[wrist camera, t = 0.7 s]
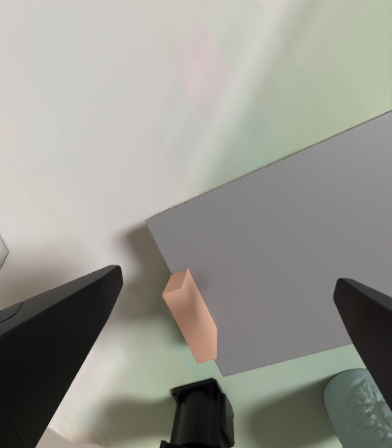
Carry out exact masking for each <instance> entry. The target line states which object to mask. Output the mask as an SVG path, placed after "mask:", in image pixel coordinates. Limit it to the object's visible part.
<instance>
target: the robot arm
mask: <svg viewBox="0 0 392 448" xmlns="http://www.w3.org/2000/svg"><path fill="white" fill-rule="evenodd" d="M122 286H123V278H122V271H121V267H120V266H119V265H109V266H107V267H104V268H102V269H100V270H97V271H95V272H92V273H90V274H88V275H85V276H83V277H80V278H78V279H75V280H73V281H71V282H68V283H66V284H63V285H61V286H59V287H56V288H54V289H51V290H49V291H47V292H44V293H42V294H39V295H37V296H35V297H32V298H30V299H27V300H25V301H24V302H20V303H18V304H15V305H13V306H10V307H8V308H5V309H3V310H0V448H35V447H36V445H37V444H38V442H39V440H40V438H41V437H42V435H43V433H44V431H45V430H46V428H47V426H48V424H49V422H50V421H51V419H52V417H53V415H54V414H55V412H56V410H57V408H58V407H59V405H60V403H61V401H62V400H63V398H64V396H65V394H66V392H67V391H68V389H69V387H70V385H71V384H72V382H73V380H74V378H75V377H76V375H77V373H78V371H79V369H80V368H81V366H82V364H83V362H84V361H85V359H86V357H87V355H88V354H89V352H90V350H91V348H92V347H93V345H94V343H95V341H96V339H97V338H98V336H99V334H100V332H101V331H102V329H103V327H104V325H105V324H106V322H107V320H108V318H109V316H110V314H111V312H112V309H113V307H114V305H115V302H116V300H117V298H118V296H119V293H120V291H121V289H122ZM333 300H334V303H335V305H336V308H337V310H338V312H339V314H340V317H341V319H342V321H343V324H344V326H345V328H346V330H347V333H348V335H349V337H350V339H351V341H352V343H353V344H354V346H355V348H356V350H357V352H358V353H359V355H360V357H361V359H362V360H363V362H364V364H365V366H366V368H367V369H368V371H369V373H370V375H371V376H372V378H373V380H374V382H375V384H376V385H377V387H378V389H379V391H380V392H381V394H382V396H383V398H384V400H385V401H386V403H387V405H388V407H389V408H390V410H391V412H392V297H390V296H388V295H386V294H384V293H381V292H379V291H377V290H375V289H373V288H371V287H368V286H366V285H364V284H362V283H360V282H357V281H355V280H353V279H351V278H339V279H338V280H337V282H336V286H335V290H334V293H333ZM213 383H214V384H213ZM172 396H173V397H174V399H175V401H176V403H177V406H176V412H175V417H174V423H173V428H172V434H171V439H170V443H168V442H166V441H163V440H162V441H161V444H160V448H231V447H234V444H235V443H234V425H233V418H234V413H233V408H232V406H231V404H230V402H229V400H228V398H227V396H226V394H224V393H223V391H222V389H221V387H220V386H219V384H218V382H217V380H215V379H211V380H207V381H203V382H199V383H195V384H191V385H187V386H183V387H180V388H176V389H173V392H172Z"/></svg>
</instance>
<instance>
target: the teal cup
mask: <svg viewBox="0 0 392 448" xmlns="http://www.w3.org/2000/svg"><path fill="white" fill-rule="evenodd" d="M323 400H324V405H325V408H326V411H327V413H328V416H329V419H330V421H331V423H332V426H333V428H334V430H335V433H336V435H337V437H338V439H339V441H340V443H341V444H342V447H343V448H392V412H391V410H390V408H389V407H388V405H387V403H386V401H385V400H384V398H383V396H382V394H381V392H380V391H379V389H378V387H377V385H376V384H375V382H374V380H373V378H372V376H371V375H370V373H369V371H368V369H352V370H348V371H344V372H342V373H339V374H338V375H336V376H334V377H333V378H332V379H331V380H330V381H329V382H328V383H327V385H326V386H325V389H324V392H323Z"/></svg>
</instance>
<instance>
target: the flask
mask: <svg viewBox="0 0 392 448" xmlns="http://www.w3.org/2000/svg"><path fill="white" fill-rule="evenodd" d="M7 253H8V251H7V249H6V247H5V245H4V243H3V241H2V239H1V237H0V268H1V266H2V264H3V262H4V260H5V257H6V255H7Z"/></svg>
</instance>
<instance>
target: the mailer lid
mask: <svg viewBox="0 0 392 448" xmlns="http://www.w3.org/2000/svg"><path fill="white" fill-rule="evenodd" d="M145 223H146V225H147V227H148V229H149V231H150V233H151V235H152V237H153V239H154V241H155V243H156V245H157V247H158V249H159V251H160V253H161V255H162V257H163V258H164V260H165V262H166V264H167V266H168V268H169V270H170V272H171V274H172V275H171V277H170V279H169V281H168V283H167V285H166V287H165V290H164V292H163V294H162V296H163V298H164V300H165V302H166V304H167V306H168V308H169V309H170V311H171V313H172V315H173V317H174V319H175V321H176V323H177V325H178V327H179V329H180V331H181V332H182V334H183V336H184V338H185V340H186V342H187V344H188V346H189V348H190V350H191V352H192V354H193V355H194V357H195V359H196V361H197V363H202V362H206V361H209V360H213V359H214V360H215V362H216V364H217V366H218V368H219V370H220V372H221V374H222V376H223V377H225V376H229V375H233V374H237V373H241V372H245V371H248V370H252V369H256V368H260V367H264V366H268V365H272V364H276V363H280V362H284V361H287V360H291V359H295V358H299V357H303V356H307V355H311V354H315V353H319V352H322V351H326V350H330V349H334V348H338V347H342V346H346V345H350V344H353V343H352V341H351V339H350V337H349V335H348V333H347V330H346V328H345V326H344V324H343V321H342V319H341V317H340V314H339V312H338V310H337V308H336V305H335V303H334V300H333V293H334V290H335V286H336V282H337V280H338V279H339V278H351V279H353V280H355V281H357V282H360V283H362V284H364V285H366V286H368V287H371V288H373V289H375V290H377V291H379V292H381V293H384V294H386V295H388V296H390V297H392V110H390V111H388V112H386V113H383V114H381V115H379V116H377V117H374V118H372V119H370V120H368V121H365V122H363V123H361V124H359V125H356V126H354V127H352V128H350V129H347V130H345V131H343V132H341V133H338V134H336V135H334V136H332V137H329V138H327V139H325V140H323V141H320V142H318V143H316V144H314V145H311V146H309V147H307V148H305V149H302V150H300V151H298V152H296V153H293V154H291V155H289V156H287V157H284V158H282V159H280V160H278V161H275V162H273V163H271V164H269V165H266V166H264V167H262V168H260V169H257V170H255V171H253V172H251V173H248V174H246V175H244V176H242V177H239V178H237V179H235V180H233V181H230V182H228V183H226V184H224V185H222V186H219V187H217V188H215V189H213V190H210V191H208V192H206V193H204V194H201V195H199V196H197V197H195V198H192V199H190V200H188V201H186V202H183V203H181V204H179V205H177V206H174V207H172V208H170V209H168V210H165V211H163V212H161V213H159V214H156V215H154V216H152V217H150V218H149V219H147V220H146V221H145Z"/></svg>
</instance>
